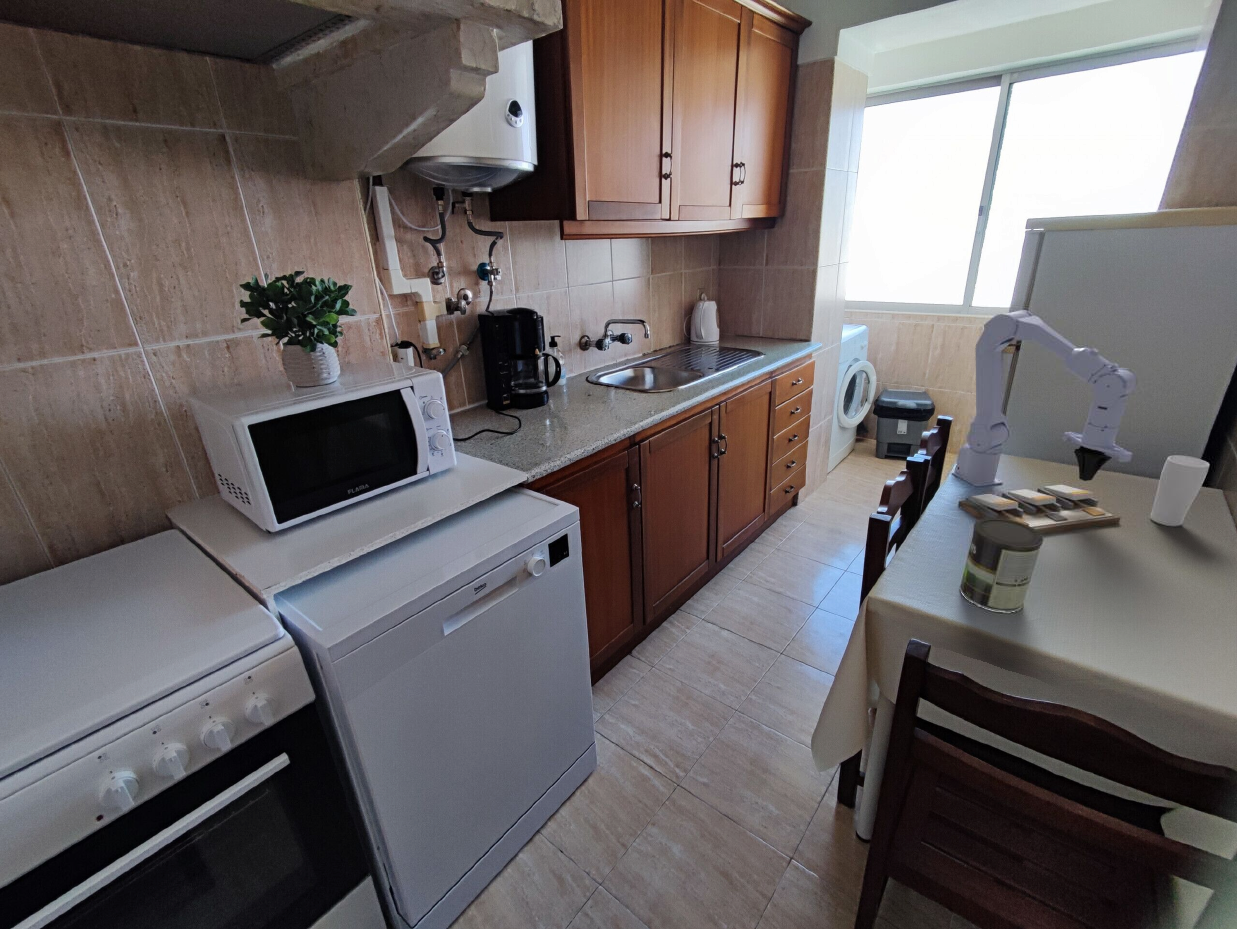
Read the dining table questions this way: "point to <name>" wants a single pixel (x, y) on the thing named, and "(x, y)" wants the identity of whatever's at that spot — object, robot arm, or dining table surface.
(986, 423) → the robot arm
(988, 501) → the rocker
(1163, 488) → the drinking glass
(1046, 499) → the rocker middle
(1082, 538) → the dining table surface
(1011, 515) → the switch board
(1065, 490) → the rocker
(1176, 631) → the dining table surface
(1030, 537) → the coffee can
